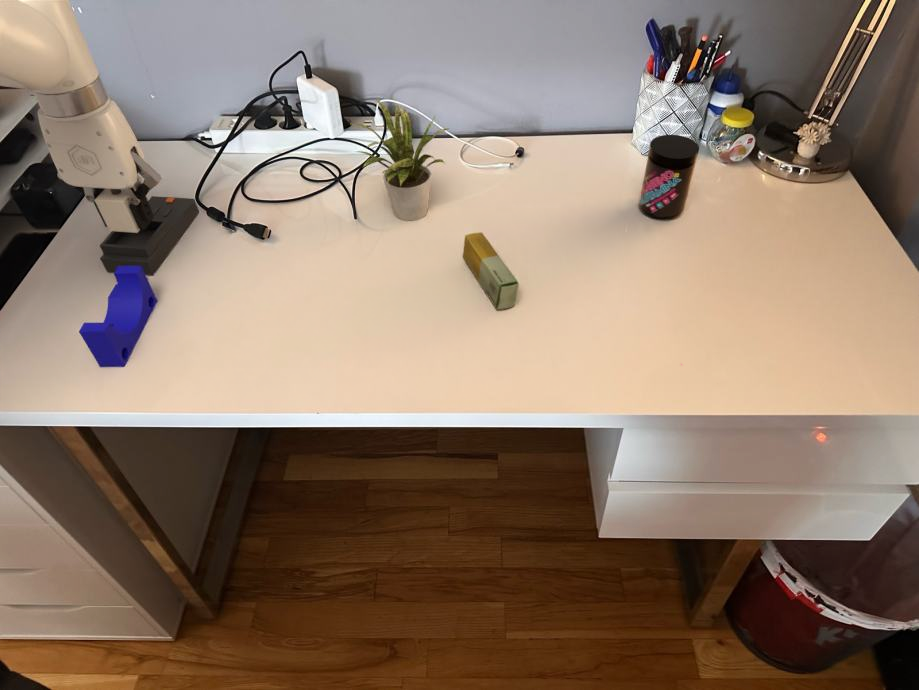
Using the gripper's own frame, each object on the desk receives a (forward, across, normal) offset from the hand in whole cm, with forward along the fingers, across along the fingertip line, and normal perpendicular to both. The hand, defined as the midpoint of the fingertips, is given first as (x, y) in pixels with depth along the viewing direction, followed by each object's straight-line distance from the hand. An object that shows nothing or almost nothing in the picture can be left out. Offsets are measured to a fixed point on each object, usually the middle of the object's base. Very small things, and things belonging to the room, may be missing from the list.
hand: (129, 221), depth 93 cm
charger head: (0, 0, 0) cm, 0 cm away
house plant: (+6, +35, +15) cm, 39 cm away
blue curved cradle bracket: (+6, +5, -16) cm, 17 cm away
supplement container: (+6, +74, +19) cm, 77 cm away
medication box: (+6, +50, 0) cm, 51 cm away
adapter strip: (+6, 0, +3) cm, 7 cm away
